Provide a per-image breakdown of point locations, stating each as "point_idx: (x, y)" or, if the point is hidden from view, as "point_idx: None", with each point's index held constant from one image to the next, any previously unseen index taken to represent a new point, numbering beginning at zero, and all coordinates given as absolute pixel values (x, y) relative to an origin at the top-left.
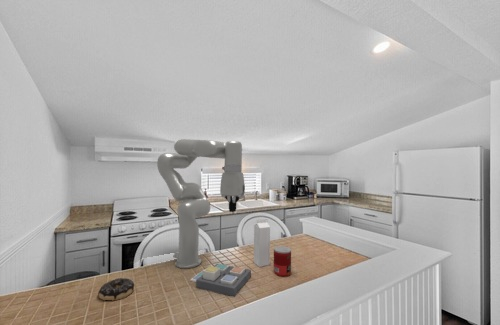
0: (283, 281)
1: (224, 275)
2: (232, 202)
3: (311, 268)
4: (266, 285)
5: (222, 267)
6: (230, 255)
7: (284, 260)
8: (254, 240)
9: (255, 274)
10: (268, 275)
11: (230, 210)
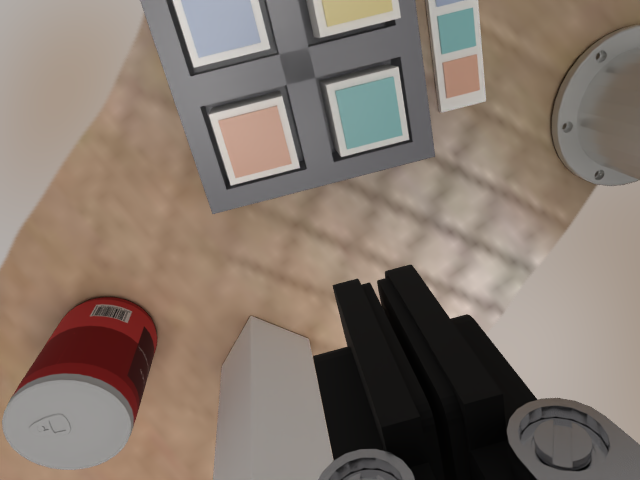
0: (45, 264)
1: (292, 56)
2: (429, 465)
3: None
4: (84, 175)
5: (352, 106)
6: None
7: (39, 358)
8: (320, 427)
9: (212, 237)
10: (150, 270)
11: (390, 283)
